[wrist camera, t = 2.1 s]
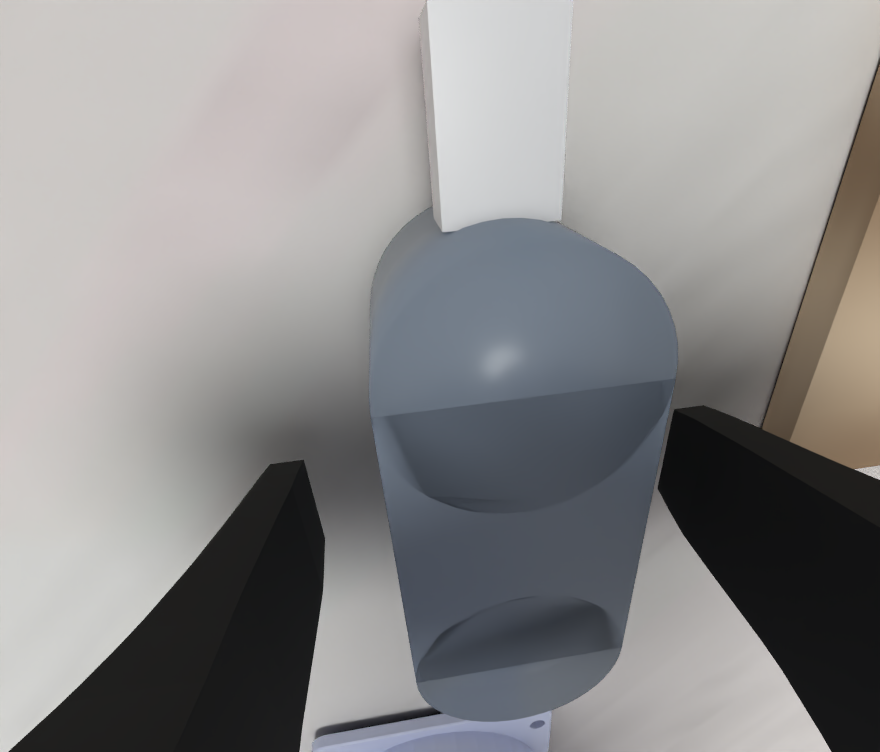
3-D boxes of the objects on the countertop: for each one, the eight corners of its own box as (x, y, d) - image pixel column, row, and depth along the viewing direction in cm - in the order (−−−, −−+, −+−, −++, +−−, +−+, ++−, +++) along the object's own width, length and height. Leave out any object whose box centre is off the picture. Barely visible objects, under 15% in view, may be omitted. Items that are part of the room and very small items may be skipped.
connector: (555, 566, 13) (610, 702, 10) (412, 589, 13) (425, 736, 10) (594, 22, 7) (761, -54, 4) (329, 40, 7) (293, -27, 4)
